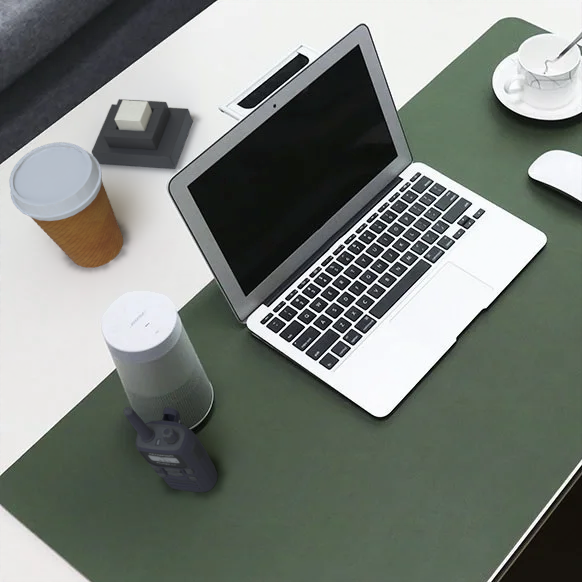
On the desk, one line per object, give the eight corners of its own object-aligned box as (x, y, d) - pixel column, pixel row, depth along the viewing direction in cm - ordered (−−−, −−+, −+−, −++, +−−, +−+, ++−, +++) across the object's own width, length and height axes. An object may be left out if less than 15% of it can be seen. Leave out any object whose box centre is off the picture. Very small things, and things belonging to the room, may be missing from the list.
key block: (98, 165, 102) (84, 141, 98) (118, 117, 106) (106, 92, 102) (175, 170, 101) (165, 146, 97) (193, 121, 104) (183, 96, 101)
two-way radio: (162, 490, 81) (102, 422, 68) (174, 449, 83) (118, 375, 70) (217, 496, 80) (166, 429, 67) (227, 454, 82) (181, 381, 69)
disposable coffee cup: (131, 278, 93) (88, 206, 83) (48, 282, 94) (-5, 211, 83) (142, 212, 98) (103, 135, 87) (63, 216, 98) (15, 141, 88)
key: (119, 130, 99) (114, 119, 98) (127, 111, 101) (122, 99, 99) (145, 132, 99) (139, 120, 97) (152, 112, 100) (147, 101, 99)
